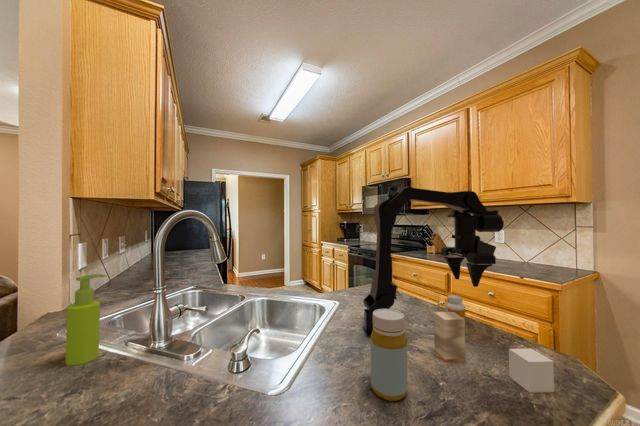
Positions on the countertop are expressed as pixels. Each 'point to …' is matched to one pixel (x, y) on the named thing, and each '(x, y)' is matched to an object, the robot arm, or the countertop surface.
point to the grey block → (531, 370)
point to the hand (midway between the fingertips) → (465, 282)
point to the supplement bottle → (455, 305)
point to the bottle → (389, 355)
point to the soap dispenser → (83, 324)
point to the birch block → (449, 336)
